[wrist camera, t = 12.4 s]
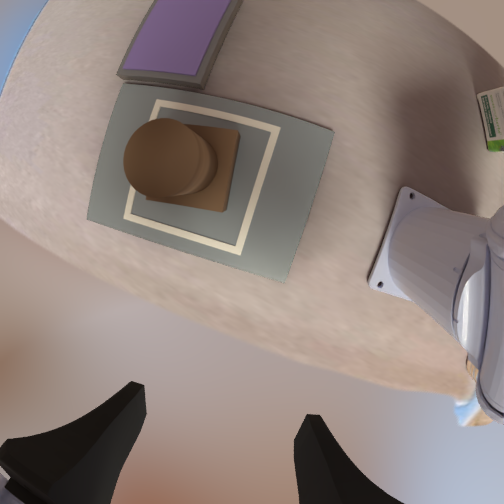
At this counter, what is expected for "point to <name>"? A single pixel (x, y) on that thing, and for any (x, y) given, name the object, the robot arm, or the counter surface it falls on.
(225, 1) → the ink pad
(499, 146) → the syrup box
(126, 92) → the board
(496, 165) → the counter surface
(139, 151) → the stamp
